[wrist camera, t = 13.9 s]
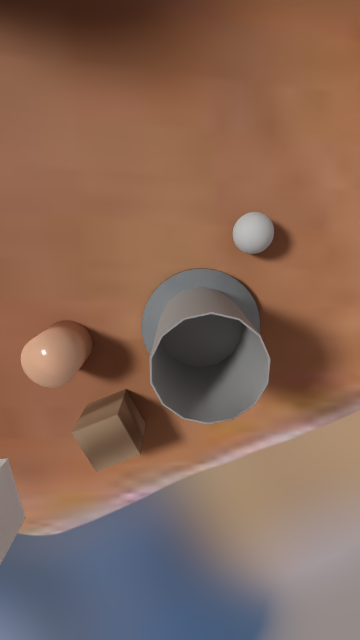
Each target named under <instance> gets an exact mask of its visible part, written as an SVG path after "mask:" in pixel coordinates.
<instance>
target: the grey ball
mask: <svg viewBox="0 0 360 640" xmlns="http://www.w3.org/2000/svg"><path fill="white" fill-rule="evenodd" d="M273 237H274V226H273V224H272V221H271V220H270V219H269V218H268V217H267V216H266V215H264V214H262V213H259V212H250V213H247V214H245V215H243V216H242V217H241V218H239V219H238V221H237V222H236V224H235V226H234V229H233V240H234V243H235V245H236V246H237V247H238V248H239V249H240V250H241V251H243V252H245V253H248V254H256V253H260V252H262V251H264V250H265V249H266V248H267V247H268V246H269V245H270V244H271V242H272V240H273Z"/></svg>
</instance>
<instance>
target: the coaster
mask: <svg viewBox="0 0 360 640" xmlns="http://www.w3.org/2000/svg"><path fill="white" fill-rule="evenodd" d="M201 286H202V287H206V288H211V289H215V290H219V291H221V292H222V293H223V294H225V295H226V296H227V297H228V298H230V299H231V300H232V301H233V302H234V303H235V304H236V305H237V306H238V308H239V309H240V310H241V311H242V313H243V314H244V315H245V316H246V318H247V319H248V320H249V321H250V323H251V324H252V325H253V327H254V328H255V329H256V330H257V332H258V333H260V316H259V311H258V308H257V305H256V303H255V301H254V299H253V297H252V295H251V294H250V293H249V291H248V290H247V289H246V288H245V287H244V286H243V285H242V284H241V283H240V282H239V281H237V280H236V279H235V278H233V277H231V276H230V275H228V274H226V273H223V272H221V271H217V270H214V269H206V268H197V269H189V270H186V271H182V272H180V273H177V274H175V275H173V276H171V277H170V278H168V279H167V280H165V281H164V282H163V283H161V284H160V285H159V286H158V287H157V289H156V290H155V291H154V292H153V294H152V295H151V297H150V299H149V300H148V302H147V305H146V307H145V310H144V314H143V318H142V335H143V340H144V343H145V346H146V348H147V351H148V353H149V354H150V355H151V351H152V347H153V343H154V339H155V335H156V331H157V327H158V323H159V319H160V317H161V315H162V313H163V311H164V309H165V307H166V304H167V302H168V301H170V300H171V299H172V298H174V297H175V296H176V295H177V294H179V293H180V292H181V291H183V290H187V289H192V288H196V287H201Z"/></svg>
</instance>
